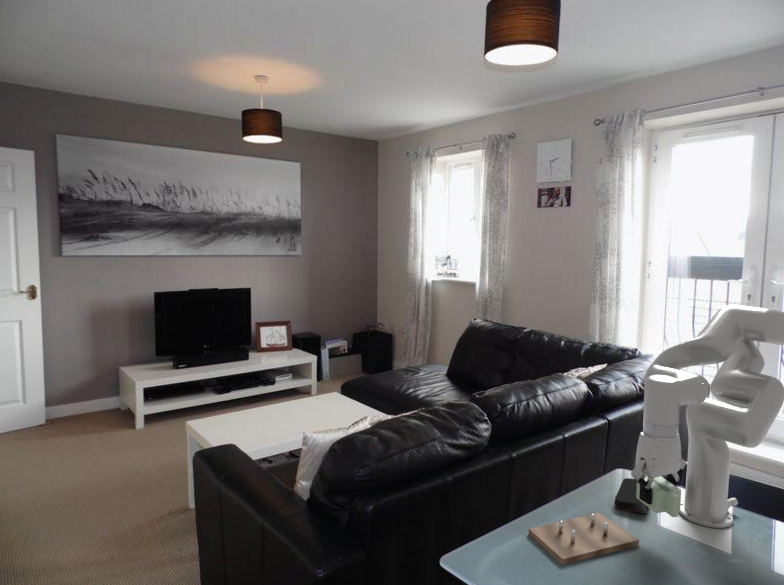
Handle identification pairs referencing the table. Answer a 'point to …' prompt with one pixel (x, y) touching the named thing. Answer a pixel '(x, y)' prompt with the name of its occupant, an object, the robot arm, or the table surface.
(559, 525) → the pin plate
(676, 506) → the green grooved block
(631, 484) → the black sponge
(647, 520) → the table surface
